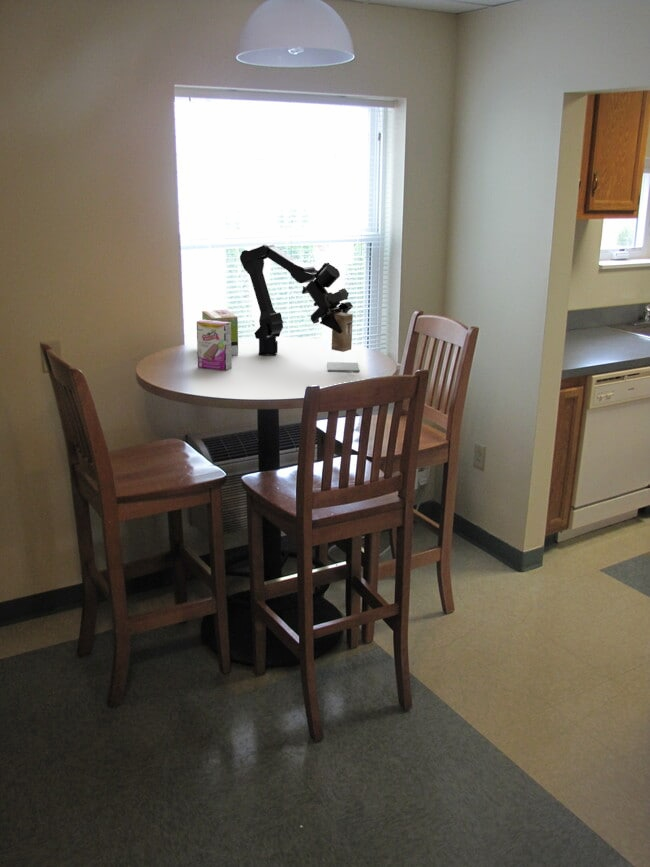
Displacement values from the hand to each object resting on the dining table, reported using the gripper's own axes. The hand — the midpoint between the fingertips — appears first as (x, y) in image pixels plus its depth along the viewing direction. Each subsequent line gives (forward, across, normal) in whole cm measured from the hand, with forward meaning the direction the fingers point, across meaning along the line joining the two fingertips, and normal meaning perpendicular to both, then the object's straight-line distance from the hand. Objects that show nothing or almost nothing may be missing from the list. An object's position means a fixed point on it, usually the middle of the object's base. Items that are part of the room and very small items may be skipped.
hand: (345, 331), depth 265 cm
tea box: (-26, -9, +46) cm, 53 cm away
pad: (+9, +1, +10) cm, 14 cm away
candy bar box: (-15, -28, +35) cm, 47 cm away
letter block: (+4, 0, +6) cm, 7 cm away
